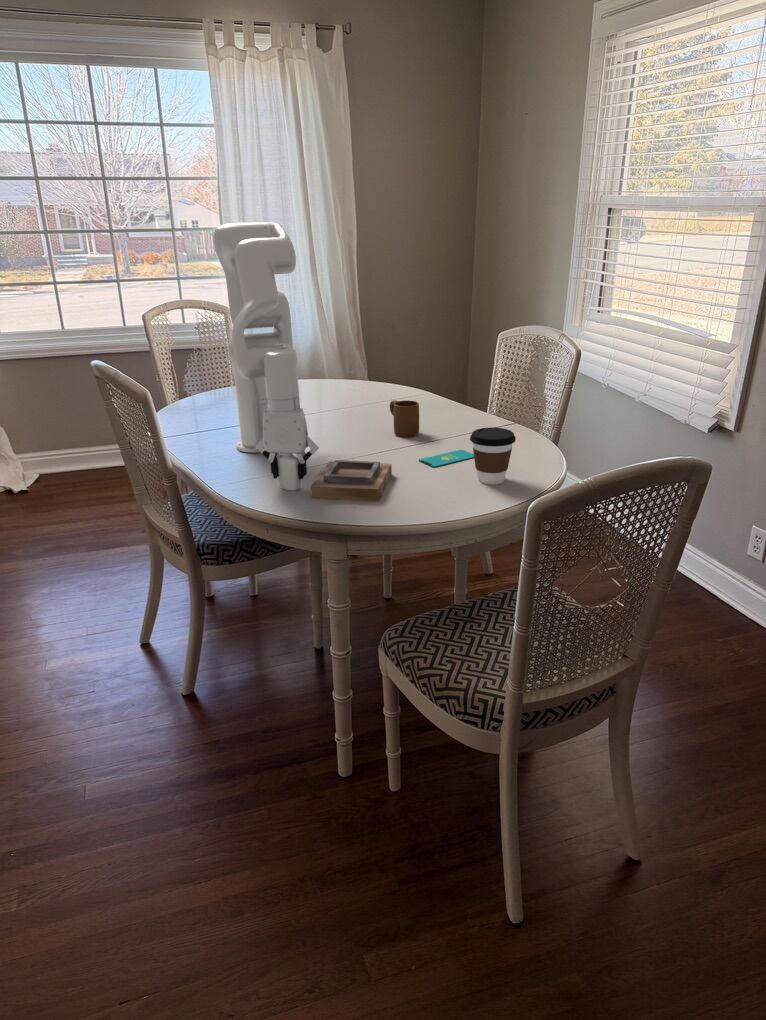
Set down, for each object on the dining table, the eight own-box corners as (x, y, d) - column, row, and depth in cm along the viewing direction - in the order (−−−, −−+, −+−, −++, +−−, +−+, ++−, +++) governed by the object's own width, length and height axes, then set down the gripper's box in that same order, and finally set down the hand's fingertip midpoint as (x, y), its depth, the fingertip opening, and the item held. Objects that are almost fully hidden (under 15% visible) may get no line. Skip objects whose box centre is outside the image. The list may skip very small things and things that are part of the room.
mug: (380, 430, 216) (380, 400, 212) (401, 425, 219) (400, 396, 216) (403, 439, 206) (403, 408, 203) (424, 434, 210) (424, 403, 206)
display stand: (330, 472, 182) (329, 455, 180) (391, 474, 179) (391, 457, 177) (311, 498, 165) (310, 480, 164) (378, 501, 162) (378, 483, 161)
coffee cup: (459, 480, 174) (460, 433, 169) (487, 469, 181) (488, 424, 176) (495, 491, 166) (497, 442, 162) (522, 479, 173) (525, 432, 169)
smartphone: (478, 455, 190) (433, 466, 182) (478, 458, 190) (433, 469, 183) (461, 449, 196) (417, 459, 188) (461, 451, 196) (417, 462, 188)
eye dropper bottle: (294, 482, 175) (291, 436, 170) (302, 489, 170) (299, 442, 166) (278, 485, 173) (273, 439, 169) (285, 493, 169) (281, 445, 164)
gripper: (242, 407, 162) (250, 481, 169) (315, 409, 159) (319, 484, 166) (253, 399, 169) (260, 470, 176) (323, 400, 166) (327, 473, 173)
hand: (289, 476), depth 171 cm, fingers closed on eye dropper bottle, 5 cm apart
